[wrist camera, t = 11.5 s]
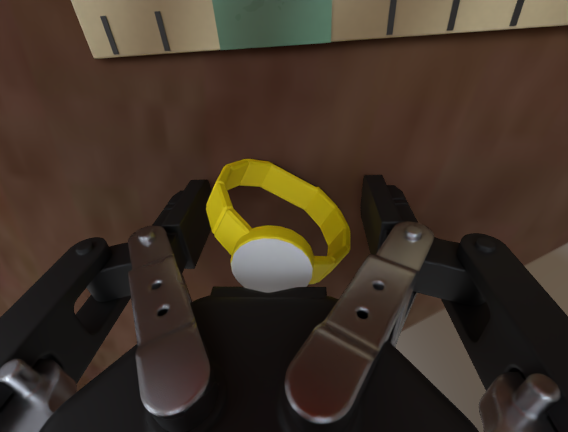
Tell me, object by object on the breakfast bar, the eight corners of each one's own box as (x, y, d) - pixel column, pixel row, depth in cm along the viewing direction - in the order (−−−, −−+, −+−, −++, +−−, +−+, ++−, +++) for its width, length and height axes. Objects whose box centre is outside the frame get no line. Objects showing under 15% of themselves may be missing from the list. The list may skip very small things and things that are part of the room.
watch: (353, 187, 14) (377, 280, 9) (323, 226, 16) (330, 323, 11) (240, 130, 13) (202, 205, 8) (219, 179, 14) (177, 265, 10)
